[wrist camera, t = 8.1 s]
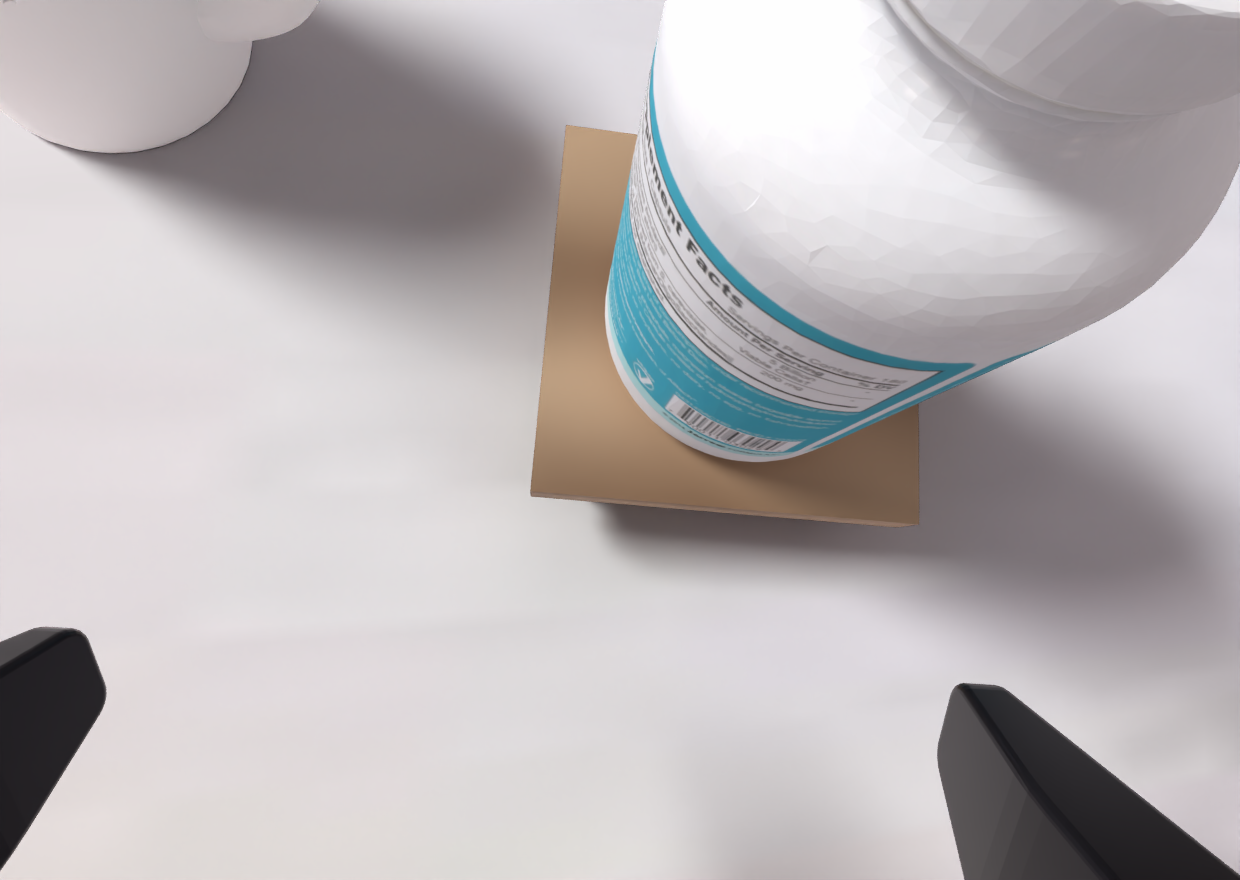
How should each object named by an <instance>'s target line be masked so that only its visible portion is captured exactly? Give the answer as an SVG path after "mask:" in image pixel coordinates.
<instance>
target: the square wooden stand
mask: <svg viewBox="0 0 1240 880" xmlns="http://www.w3.org/2000/svg"><path fill="white" fill-rule="evenodd" d="M636 140H637V135H636V134H628V133H621V132H614V131H606V130H599V129H592V128H584V127H577V126H570V125H566V131H565V142H564V152H563V162H562V172H561V183H560V193H559V203H558V213H557V224H556V234H555V244H554V254H553V265H552V275H551V285H550V295H549V306H548V316H547V326H546V336H545V347H544V357H543V367H542V377H541V387H540V398H539V408H538V418H537V428H536V439H535V449H534V459H533V469H532V480H531V490H530V493H531V496H532V497H544V498H556V499H568V500H580V501H591V502H603V503H615V504H627V505H639V506H650V507H662V508H674V509H686V510H698V511H709V512H721V513H733V514H745V515H757V516H768V517H780V518H792V519H804V520H815V521H827V522H839V523H851V524H863V525H874V526H886V527H903V526H911V525H919V421H918V404H916V405H913V406H911V407H909V408H907V409H905V410H902V411H900V412H898V413H896V414H894V415H891V416H889V417H887V418H885V419H883V420H880V421H878V422H876V423H874V424H872V425H869V426H867V427H865V428H863V429H861V430H858V431H856V432H854V433H852V434H850V435H848V436H845V437H843V438H841V439H839V440H837V441H834V442H832V443H830V444H828V445H825V446H823V447H820V448H818V449H816V450H813V451H810V452H808V453H805V454H802V455H799V456H796V457H792V458H788V459H784V460H776V461H768V462H747V461H736V460H729V459H725V458H721V457H716V456H713V455H710V454H707V453H704V452H702V451H699V450H697V449H694V448H692V447H690V446H688V445H686V444H684V443H683V442H681V441H679V440H677V439H676V438H674V437H673V436H671V435H670V434H668V433H667V432H665V431H664V430H663V429H662V428H660V427H659V426H658V425H657V424H656V423H655V422H653V421H652V420H651V419H650V418H649V417H648V416H647V414H646V413H645V412H644V411H643V410H642V409H641V408H640V407H639V405H638V404H637V403H636V402H635V400H634V399H633V398H632V396H631V395H630V393H629V392H628V390H627V388H626V387H625V385H624V384H623V382H622V380H621V378H620V376H619V374H618V371H617V369H616V366H615V364H614V361H613V359H612V356H611V352H610V348H609V343H608V339H607V334H606V324H605V300H606V292H607V286H608V281H609V275H610V269H611V265H612V260H613V254H614V249H615V244H616V240H617V235H618V230H619V225H620V220H621V214H622V209H623V205H624V200H625V195H626V190H627V185H628V180H629V175H630V170H631V165H632V159H633V155H634V151H635V145H636Z"/></svg>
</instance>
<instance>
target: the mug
mask: <svg viewBox="0 0 1240 880" xmlns="http://www.w3.org/2000/svg"><path fill="white" fill-rule="evenodd" d="M319 1H320V0H0V110H1V111H2V112H3V113H4V114H5V115H6V116H8V117H9V118H10V119H12V120H13V121H14V122H15V123H17V124H18V125H19V126H21V127H22V128H24V129H26V130H27V131H29V132H31V133H33V134H35V135H37V136H39V137H41V138H43V139H45V140H48V141H51V142H53V143H57V144H60V145H64V146H67V147H71V148H75V149H79V150H83V151H91V152H101V153H125V152H138V151H143V150H147V149H151V148H155V147H160V146H164V145H166V144H169V143H171V142H173V141H176V140H178V139H181V138H183V137H185V136H188V135H189V134H191V133H193V132H194V131H196V130H197V129H199V128H200V127H202V126H203V125H205V124H206V123H208V122H209V121H211V120H212V119H213V118H214V117H215V116H216V115H217V114H218V113H219V112H220V111H221V110H222V109H223V108H224V107H225V106H226V105H227V104H228V103H229V101H230V100H231V98H232V97H233V95H234V94H235V93H236V91H237V90H238V88H239V87H240V85H241V83H242V80H243V78H244V75H245V73H246V71H247V68H248V66H249V61H250V54H251V48H252V41H254V40H260V39H265V38H271V37H275V36H278V35H281V34H284V33H287V32H289V31H291V30H292V29H294V28H296V27H298V26H299V25H300V24H302V23H303V22H304V21H305V20H306V19H307V18H308V17H309V16H310V14H311V13H312V12H313V10H314V9H315V7H316V6H317V4H318V3H319Z"/></svg>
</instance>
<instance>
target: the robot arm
mask: <svg viewBox="0 0 1240 880" xmlns="http://www.w3.org/2000/svg"><path fill="white" fill-rule="evenodd" d="M105 700H106V685H105V682H104V680H103V677H102V674H101V672H100V669H99V666H98V664H97V661H96V659H95V656H94V653H93V651H92V648H91V645H90V643H89V640H88V638H87V637H86V635H85V634H83V633H82V632H81V631H80V630H77V629H73V628H59V627H39V628H34V629H31V630H28V631H26V632H23V633H21V634H19V635H16V636H14V637H11V638H9V639H6V640H4V641H2V642H0V871H1V869H2V868H3V866H4V865H5V864H6V862H7V861H8V859H9V858H10V857H11V855H12V854H13V852H14V851H15V849H16V848H17V846H18V844H19V843H20V841H21V840H22V838H23V837H24V835H25V834H26V832H27V831H28V829H29V828H30V826H31V824H32V823H33V821H34V819H35V818H36V816H37V815H38V813H39V811H40V810H41V808H42V807H43V805H44V803H45V802H46V800H47V799H48V797H49V795H50V794H51V792H52V790H53V789H54V787H55V786H56V784H57V782H58V781H59V779H60V778H61V776H62V774H63V773H64V771H65V770H66V768H67V766H68V765H69V763H70V761H71V760H72V758H73V757H74V755H75V753H76V752H77V750H78V749H79V747H80V745H81V744H82V742H83V741H84V739H85V737H86V736H87V734H88V732H89V731H90V729H91V728H92V726H93V724H94V723H95V721H96V720H97V718H98V716H99V715H100V713H101V711H102V709H103V706H104V704H105ZM937 759H938V768H939V773H940V777H941V782H942V786H943V790H944V794H945V799H946V803H947V807H948V811H949V816H950V820H951V824H952V828H953V833H954V837H955V841H956V845H957V850H958V854H959V858H960V862H961V867H962V871H963V875H964V879H965V880H1240V875H1239V874H1238V873H1236V872H1235V871H1234V870H1233V869H1231V868H1230V867H1229V866H1228V865H1226V864H1225V863H1224V862H1223V861H1221V860H1220V859H1219V858H1218V857H1216V856H1215V855H1214V854H1212V853H1211V852H1210V851H1209V850H1207V849H1206V848H1205V847H1204V846H1202V845H1201V844H1200V843H1199V842H1197V841H1196V840H1195V839H1194V838H1192V837H1191V836H1190V835H1189V834H1187V833H1186V832H1185V831H1184V830H1182V829H1181V828H1180V827H1179V826H1177V825H1176V824H1175V823H1174V822H1172V821H1171V820H1170V819H1169V818H1167V817H1166V816H1165V815H1163V814H1162V813H1161V812H1160V811H1158V810H1157V809H1156V808H1155V807H1153V806H1152V805H1151V804H1150V803H1148V802H1147V801H1146V800H1145V799H1143V798H1142V797H1141V796H1140V795H1138V794H1137V793H1136V792H1135V791H1133V790H1132V789H1131V788H1130V787H1128V786H1127V785H1126V784H1125V783H1123V782H1122V781H1121V780H1120V779H1118V778H1117V777H1116V776H1114V775H1113V774H1112V773H1111V772H1109V771H1108V770H1107V769H1106V768H1104V767H1103V766H1102V765H1101V764H1099V763H1098V762H1097V761H1096V760H1094V759H1093V758H1092V757H1091V756H1089V755H1088V754H1087V753H1086V752H1084V751H1083V750H1082V749H1081V748H1079V747H1078V746H1077V745H1076V744H1074V743H1073V742H1072V741H1071V740H1069V739H1068V738H1067V737H1065V736H1064V735H1063V734H1062V733H1060V732H1059V731H1058V730H1057V729H1055V728H1054V727H1053V726H1052V725H1050V724H1049V723H1048V722H1047V721H1045V720H1044V719H1043V718H1042V717H1040V716H1039V715H1038V714H1037V713H1035V712H1034V711H1033V710H1032V709H1030V708H1029V707H1028V706H1027V705H1025V704H1024V703H1023V702H1021V701H1020V700H1019V699H1018V698H1016V697H1015V696H1014V695H1013V694H1011V693H1010V692H1009V691H1007V690H1006V689H1004V688H1002V687H1000V686H996V685H986V684H969V683H962V684H959V685H957V686H955V688H954V689H953V690H952V693H951V695H950V699H949V703H948V707H947V711H946V715H945V719H944V723H943V726H942V730H941V734H940V738H939V742H938V750H937Z"/></svg>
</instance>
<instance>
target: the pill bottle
mask: <svg viewBox="0 0 1240 880" xmlns="http://www.w3.org/2000/svg"><path fill="white" fill-rule="evenodd" d="M1239 164H1240V0H665V4H664V8H663V13H662V18H661V23H660V28H659V33H658V38H657V42H656V47H655V51H654V56H653V60H652V65H651V69H650V74H649V80H648V86H647V90H646V94H645V99H644V104H643V109H642V115H641V120H640V125H639V130H638V135H637V140H636V145H635V151H634V155H633V159H632V165H631V170H630V175H629V180H628V185H627V190H626V195H625V200H624V205H623V209H622V214H621V220H620V225H619V230H618V235H617V240H616V244H615V249H614V254H613V260H612V265H611V269H610V275H609V281H608V286H607V292H606V300H605V324H606V334H607V339H608V343H609V348H610V352H611V356H612V359H613V361H614V364H615V366H616V369H617V371H618V374H619V376H620V378H621V380H622V382H623V384H624V385H625V387H626V388H627V390H628V392H629V393H630V395H631V396H632V398H633V399H634V400H635V402H636V403H637V404H638V405H639V407H640V408H641V409H642V410H643V411H644V412H645V413H646V414H647V416H648V417H649V418H650V419H651V420H652V421H653V422H655V423H656V424H657V425H658V426H659V427H660V428H662V429H663V430H664V431H665V432H667V433H668V434H670V435H671V436H673V437H674V438H676V439H677V440H679V441H681V442H683V443H684V444H686V445H688V446H690V447H692V448H694V449H697V450H699V451H702V452H704V453H707V454H710V455H713V456H716V457H721V458H725V459H729V460H736V461H747V462H768V461H776V460H784V459H788V458H792V457H796V456H799V455H802V454H805V453H808V452H810V451H813V450H816V449H818V448H820V447H823V446H825V445H828V444H830V443H832V442H834V441H837V440H839V439H841V438H843V437H845V436H848V435H850V434H852V433H854V432H856V431H858V430H861V429H863V428H865V427H867V426H869V425H872V424H874V423H876V422H878V421H880V420H883V419H885V418H887V417H889V416H891V415H894V414H896V413H898V412H900V411H902V410H905V409H907V408H909V407H911V406H913V405H916V404H918V403H920V402H922V401H924V400H926V399H929V398H931V397H933V396H935V395H937V394H940V393H942V392H944V391H946V390H949V389H951V388H953V387H955V386H958V385H960V384H962V383H964V382H967V381H969V380H971V379H974V378H976V377H978V376H980V375H983V374H985V373H987V372H989V371H991V370H994V369H996V368H998V367H1000V366H1003V365H1005V364H1007V363H1009V362H1011V361H1014V360H1016V359H1018V358H1020V357H1023V356H1025V355H1027V354H1029V353H1032V352H1034V351H1036V350H1038V349H1040V348H1043V347H1045V346H1047V345H1049V344H1052V343H1054V342H1056V341H1058V340H1060V339H1062V338H1064V337H1066V336H1068V335H1070V334H1073V333H1075V332H1077V331H1079V330H1081V329H1083V328H1085V327H1087V326H1089V325H1091V324H1093V323H1095V322H1097V321H1099V320H1101V319H1103V318H1105V317H1107V316H1108V315H1110V314H1112V313H1114V312H1115V311H1117V310H1119V309H1121V308H1122V307H1124V306H1125V305H1127V304H1128V303H1130V302H1131V301H1132V300H1134V299H1135V298H1136V297H1138V296H1139V295H1141V294H1142V293H1143V292H1145V291H1146V290H1147V289H1149V288H1150V287H1152V286H1153V285H1154V284H1155V283H1156V282H1157V281H1158V280H1159V279H1160V278H1161V277H1162V276H1163V275H1164V274H1165V273H1166V272H1167V271H1168V270H1169V269H1170V268H1171V267H1173V266H1174V265H1175V264H1176V263H1177V262H1178V261H1179V260H1180V259H1181V258H1182V257H1183V256H1184V255H1185V254H1186V253H1187V251H1188V250H1189V249H1190V248H1191V247H1192V246H1193V244H1194V243H1195V242H1196V241H1197V240H1198V238H1199V237H1200V236H1201V234H1202V233H1203V231H1204V230H1205V228H1206V227H1207V226H1208V224H1209V223H1210V221H1211V220H1212V218H1213V217H1214V215H1215V214H1216V212H1217V210H1218V208H1219V207H1220V205H1221V203H1222V201H1223V199H1224V197H1225V195H1226V193H1227V191H1228V189H1229V187H1230V185H1231V182H1232V180H1233V178H1234V176H1235V173H1236V171H1237V169H1238V167H1239Z"/></svg>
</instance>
